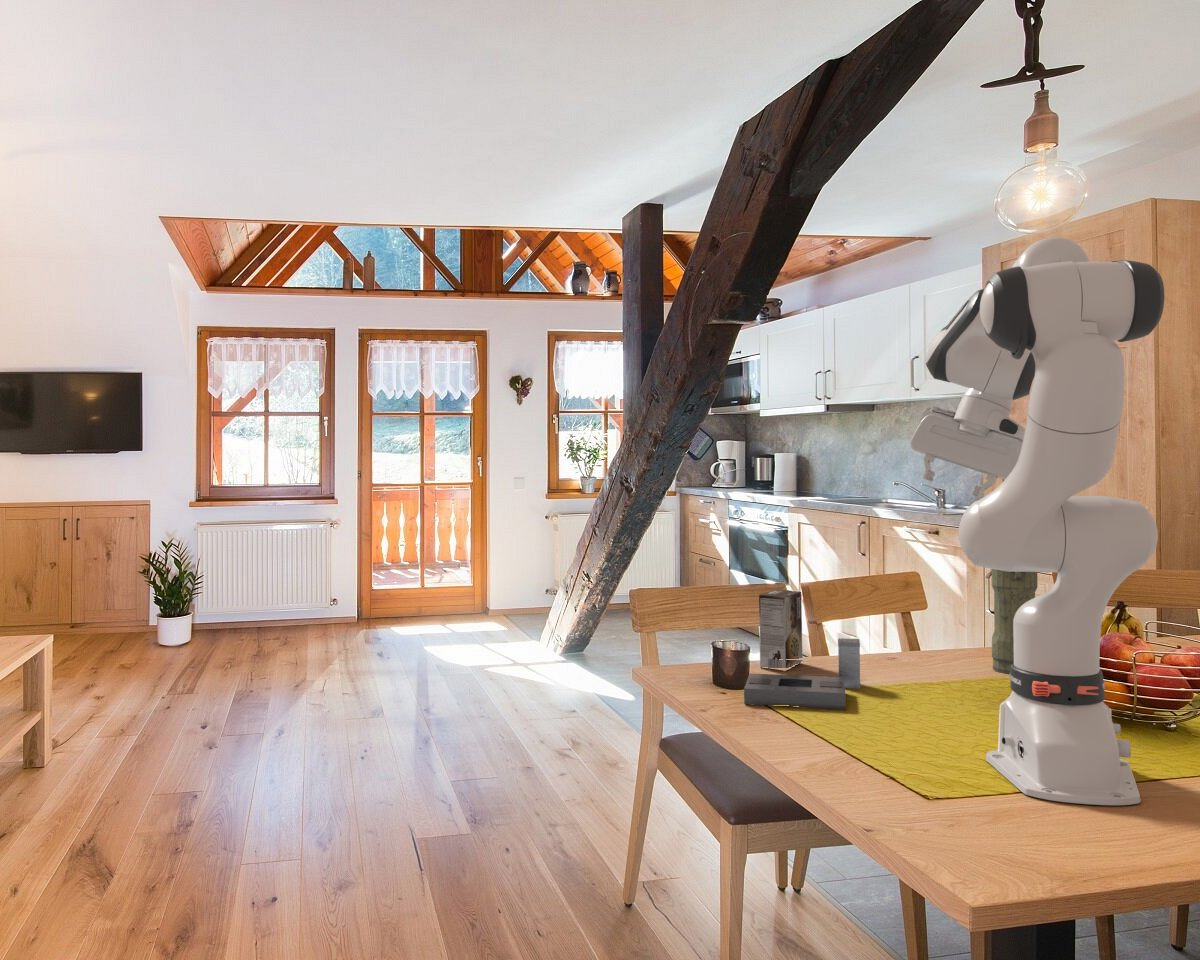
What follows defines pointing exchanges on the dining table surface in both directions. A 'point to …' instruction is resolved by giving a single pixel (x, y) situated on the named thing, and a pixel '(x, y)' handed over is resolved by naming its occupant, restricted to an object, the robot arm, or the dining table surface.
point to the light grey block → (849, 661)
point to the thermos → (1008, 612)
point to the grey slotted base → (796, 691)
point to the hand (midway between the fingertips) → (951, 488)
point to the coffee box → (780, 628)
